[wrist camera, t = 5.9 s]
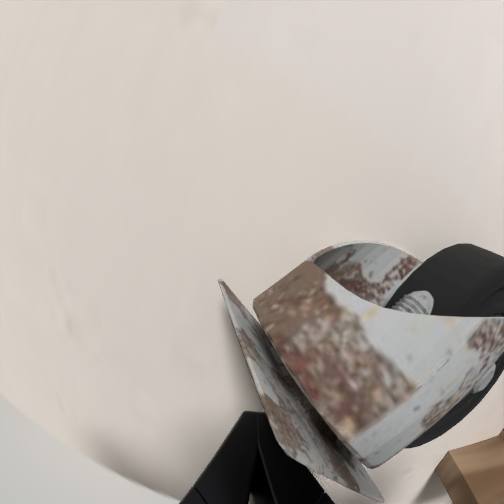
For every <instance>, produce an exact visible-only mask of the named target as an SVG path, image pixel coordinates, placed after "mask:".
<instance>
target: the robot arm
mask: <svg viewBox="0 0 504 504" xmlns="http://www.w3.org/2000/svg"><path fill="white" fill-rule="evenodd" d="M324 492H325V491H324V489H323V488H322V487H321V485H320V484H319V483H318V481H317V480H316V479H315V477H314V476H313V475H312V473H311V472H310V471H309V469H308V468H307V467H306V466H305V465H303V464H301V463H300V462H298V461H296V460H295V459H293V458H291V457H290V456H288V455H287V454H286V453H285V451H284V450H283V449H282V447H281V446H280V445H279V443H278V441H277V440H276V438H275V435H274V433H273V430H272V428H271V425H270V423H269V420H268V418H267V415H266V413H265V412H252V411H244V412H243V413H242V414H241V416H240V417H239V419H238V421H237V422H236V424H235V425H234V427H233V428H232V430H231V431H230V433H229V434H228V436H227V437H226V439H225V440H224V442H223V443H222V445H221V446H220V448H219V449H218V451H217V452H216V454H215V455H214V457H213V458H212V460H211V461H210V462H209V464H208V465H207V467H206V468H205V470H204V471H203V472H202V474H201V475H200V477H199V478H198V480H197V481H196V482H195V484H194V487H192V488H191V489H190V490H189V492H188V493H187V494H186V496H185V497H184V498H183V499H182V501H181V502H180V503H179V504H248V502H249V497H250V504H335V503H334V502H333V501H332V500H331V498H330V497H329V496H328V494H327V493H324Z"/></svg>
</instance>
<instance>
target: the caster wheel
mask: <svg viewBox="0 0 504 504" xmlns="http://www.w3.org/2000/svg"><path fill="white" fill-rule="evenodd" d="M218 282H219V285H220V288H221V291H222V294H223V297H224V300H225V303H226V306H227V309H228V311H229V314H230V317H231V320H232V323H233V326H234V329H235V331H236V334H237V337H238V340H239V343H240V345H241V348H242V351H243V354H244V357H245V359H246V362H247V365H248V367H249V370H250V373H251V376H252V378H253V381H254V384H255V386H256V389H257V392H258V394H259V397H260V399H261V402H262V405H263V407H264V410H265V412H266V415H267V418H268V420H269V423H270V425H271V428H272V430H273V433H274V435H275V438H276V440H277V441H278V443H279V445H280V446H281V447H282V449H283V450H284V451H285V453H286V454H287V455H288V456H290V457H291V458H293V459H295V460H296V461H298V462H300V463H301V464H303V465H305V466H307V467H309V468H310V469H312V470H314V471H316V472H318V473H320V474H321V475H323V476H325V477H327V478H329V479H331V480H333V481H335V482H337V483H339V484H341V485H343V486H345V487H347V488H349V489H351V490H354V491H356V492H358V493H360V494H362V495H365V496H367V497H369V498H371V499H374V500H376V501H378V502H381V503H383V504H384V499H383V497H382V496H381V494H380V492H379V491H378V489H377V488H376V486H375V485H374V483H373V481H372V480H371V478H370V477H369V475H368V473H367V472H366V470H365V469H364V467H363V466H362V464H364V465H365V466H366V467H367V468H370V469H373V468H376V467H379V466H380V465H382V464H383V463H385V462H386V461H387V460H389V459H390V458H392V457H393V456H394V455H396V454H397V453H399V452H400V451H401V450H403V449H404V448H413V447H417V446H420V445H423V444H425V443H427V442H430V441H432V440H434V439H436V438H437V437H439V436H441V435H442V434H444V433H445V432H447V431H448V430H449V429H451V428H452V427H453V426H455V425H456V424H457V423H459V422H460V421H461V420H462V419H463V418H464V417H465V416H466V415H467V414H469V413H470V412H471V411H472V410H473V409H474V408H475V407H476V406H477V405H478V404H479V403H480V401H481V400H482V399H483V398H484V397H485V395H486V394H487V393H488V392H489V390H490V389H491V388H492V386H493V385H494V384H495V382H496V381H497V379H498V378H499V376H500V375H501V373H502V372H503V370H504V257H502V256H500V255H498V254H495V253H493V252H491V251H488V250H486V249H483V248H480V247H478V246H475V245H472V244H456V245H453V246H451V247H448V248H445V249H443V250H441V251H440V252H438V253H436V254H435V255H433V256H432V257H430V258H428V259H427V260H426V261H425V262H424V263H422V262H420V261H419V260H417V259H416V258H414V257H413V256H411V255H409V254H407V253H405V252H403V251H401V250H399V249H397V248H394V247H392V246H389V245H385V244H382V243H378V242H371V241H352V242H345V243H340V244H337V245H333V246H330V247H327V248H325V249H322V250H320V251H319V252H317V253H315V254H313V255H312V256H311V257H310V258H308V259H307V260H306V261H304V262H303V263H302V264H300V265H299V266H298V267H296V268H295V269H294V270H293V271H291V272H290V273H289V274H287V275H286V276H285V277H283V278H282V279H281V280H279V281H278V282H277V283H275V284H274V285H272V286H271V287H270V288H268V289H267V290H266V291H264V292H263V293H262V294H260V295H259V296H258V297H256V298H255V299H254V301H253V309H254V311H255V313H256V315H257V317H258V319H259V322H260V324H261V325H260V324H259V323H258V322H257V321H256V319H255V318H254V317H253V316H252V315H251V314H250V312H249V311H248V310H247V309H246V308H245V306H244V305H243V304H242V303H241V302H240V300H239V299H238V298H237V297H236V296H235V294H234V293H233V292H232V291H231V290H230V288H229V287H228V286H227V285H226V284H225V282H223V281H222V280H221V279H218ZM361 463H362V464H361Z"/></svg>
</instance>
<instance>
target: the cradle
mask: <svg viewBox="0 0 504 504" xmlns="http://www.w3.org/2000/svg"><path fill="white" fill-rule="evenodd" d="M436 470H437V472H438V474H439V476H440V478H441V480H442V482H443V484H444V486H445V488H446V490H447V492H448V494H449V496H450V498H451V500H452V502H453V504H504V429H503V431H502V432H501V433H500V435H499V436H496V437H494V438H491V439H488V440H485V441H482V442H479V443H476V444H472V445H469V446H466V447H462V448H459V449H455V450H451V451H448V453H447V454H446V456H445V457H444V458H443V460H442V461H441V462H440V464H439V465H438V466H437V467H436Z"/></svg>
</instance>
